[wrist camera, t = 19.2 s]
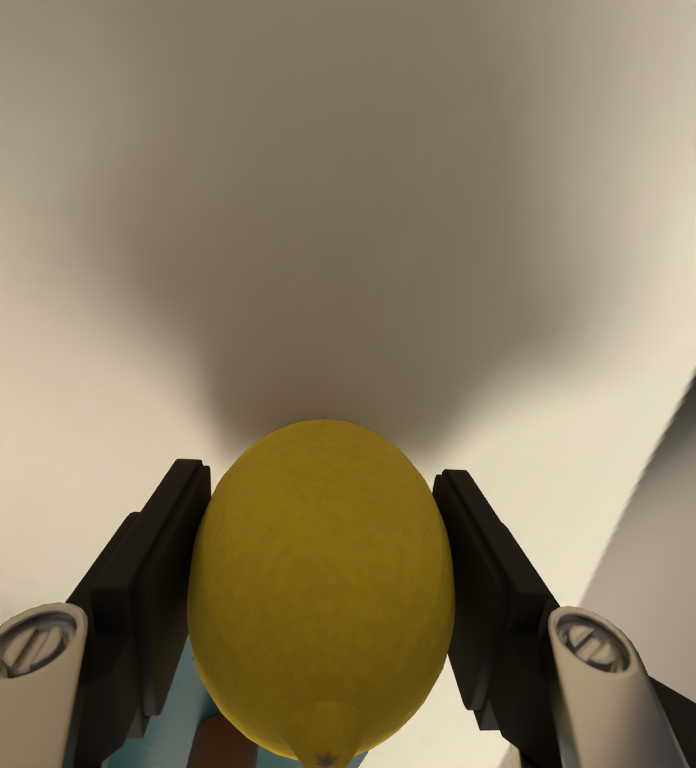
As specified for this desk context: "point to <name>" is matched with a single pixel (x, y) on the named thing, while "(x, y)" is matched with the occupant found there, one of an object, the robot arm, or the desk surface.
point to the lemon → (321, 592)
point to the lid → (197, 733)
